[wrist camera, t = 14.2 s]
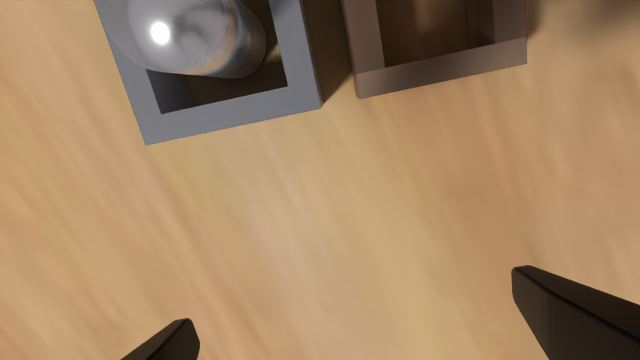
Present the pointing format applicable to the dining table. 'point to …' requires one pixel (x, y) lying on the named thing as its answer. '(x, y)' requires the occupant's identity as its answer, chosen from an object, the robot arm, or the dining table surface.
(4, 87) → the dining table surface
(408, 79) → the socket block
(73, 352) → the dining table surface
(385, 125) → the dining table surface
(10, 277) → the dining table surface
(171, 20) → the peg
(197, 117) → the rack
